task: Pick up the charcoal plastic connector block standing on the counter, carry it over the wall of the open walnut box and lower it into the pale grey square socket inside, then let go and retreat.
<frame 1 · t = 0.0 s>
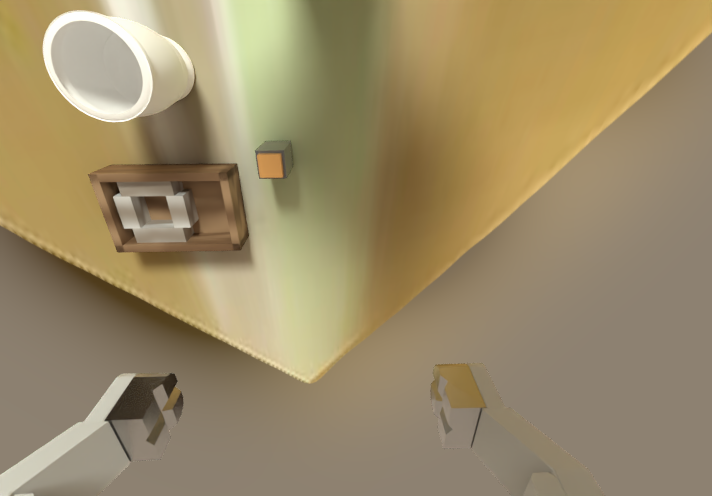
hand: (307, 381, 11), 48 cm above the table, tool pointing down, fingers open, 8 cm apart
jar: (165, 69, 48), on the table
connector: (279, 153, 54), on the table
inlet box: (183, 202, 58), on the table
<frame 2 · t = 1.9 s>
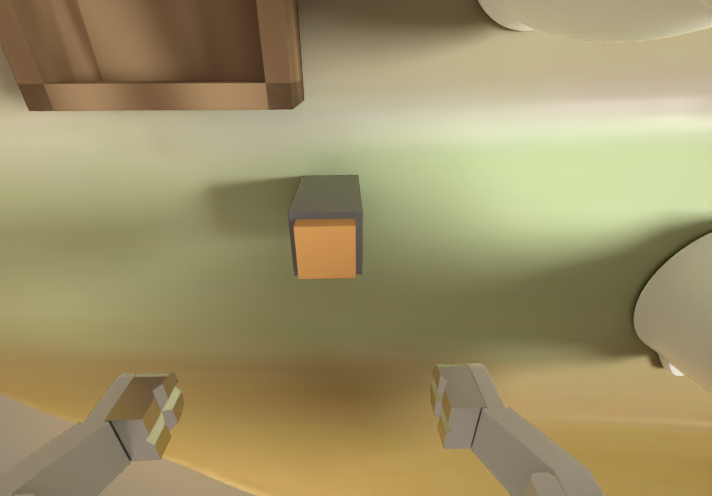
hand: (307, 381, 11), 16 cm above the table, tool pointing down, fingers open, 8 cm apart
connector: (331, 201, 25), on the table
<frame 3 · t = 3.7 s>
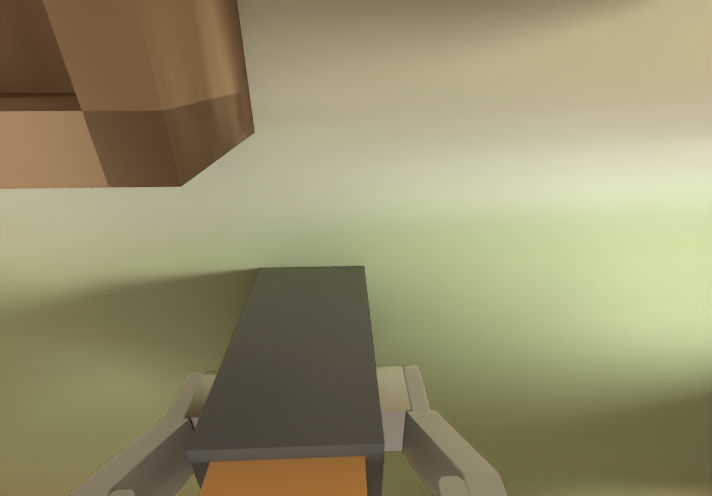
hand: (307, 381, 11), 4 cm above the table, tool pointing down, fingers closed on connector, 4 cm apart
connector: (315, 308, 14), on the table, touching gripper
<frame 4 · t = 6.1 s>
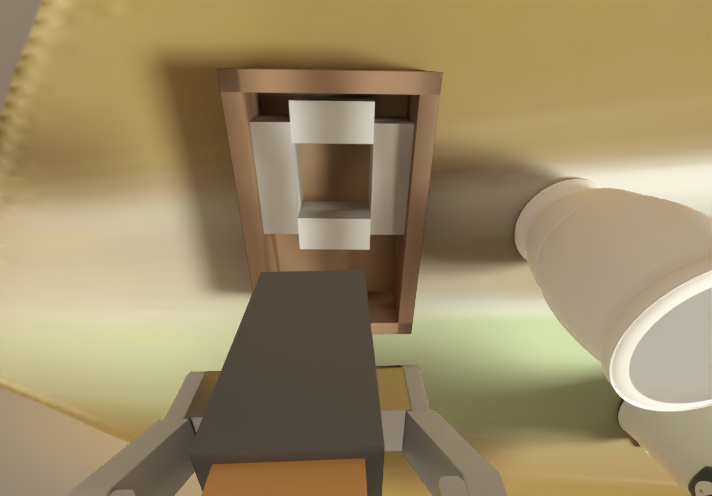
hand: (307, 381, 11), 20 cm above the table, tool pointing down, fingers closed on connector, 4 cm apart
jar: (558, 222, 30), on the table
connector: (315, 312, 14), point 16 cm above the table, touching gripper
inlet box: (336, 200, 29), on the table
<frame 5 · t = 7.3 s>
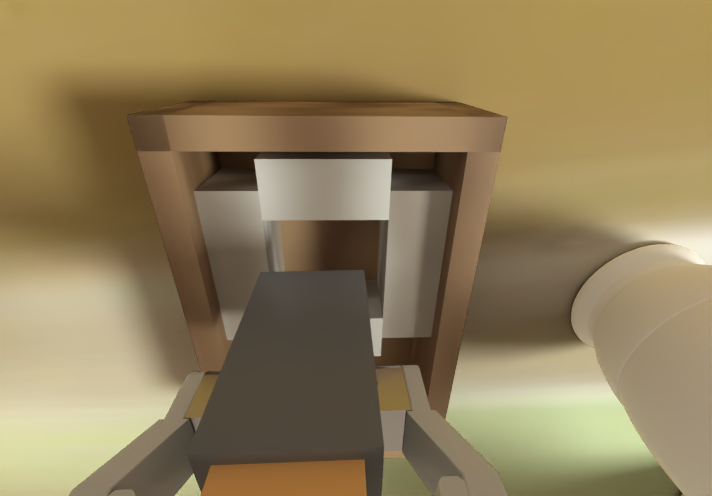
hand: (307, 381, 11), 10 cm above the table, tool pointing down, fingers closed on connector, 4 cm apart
jar: (629, 296, 23), on the table
connector: (315, 312, 14), point 7 cm above the table, touching gripper
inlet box: (332, 275, 21), on the table
when the fingers open (6 cm above the table, at t = 8.5 s): connector drops 1 cm, resting on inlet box.
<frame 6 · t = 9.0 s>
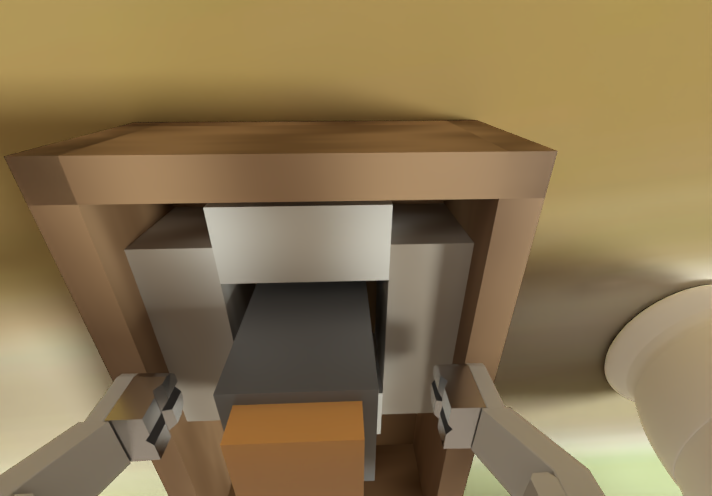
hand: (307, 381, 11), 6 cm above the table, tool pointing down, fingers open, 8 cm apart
jar: (673, 340, 19), on the table
connector: (318, 291, 15), point 1 cm above the table, touching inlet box
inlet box: (321, 325, 18), on the table
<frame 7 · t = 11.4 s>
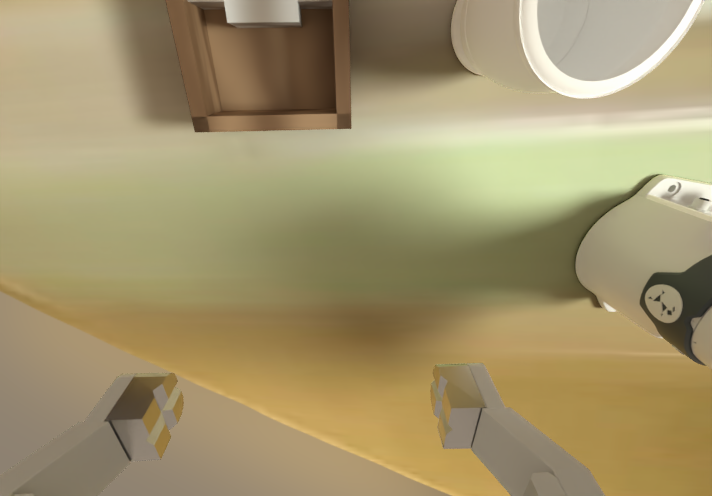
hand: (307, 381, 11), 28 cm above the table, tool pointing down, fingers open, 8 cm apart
jar: (494, 23, 31), on the table
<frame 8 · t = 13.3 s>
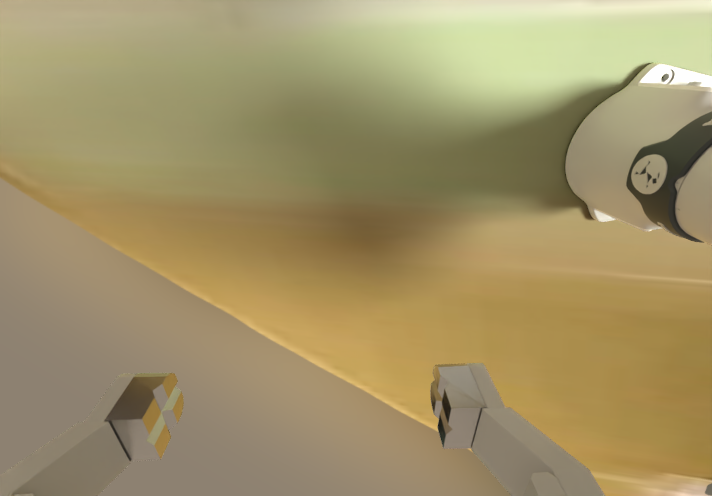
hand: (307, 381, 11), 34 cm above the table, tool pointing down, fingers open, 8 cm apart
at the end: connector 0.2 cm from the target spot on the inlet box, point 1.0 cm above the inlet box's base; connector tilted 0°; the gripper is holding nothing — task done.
